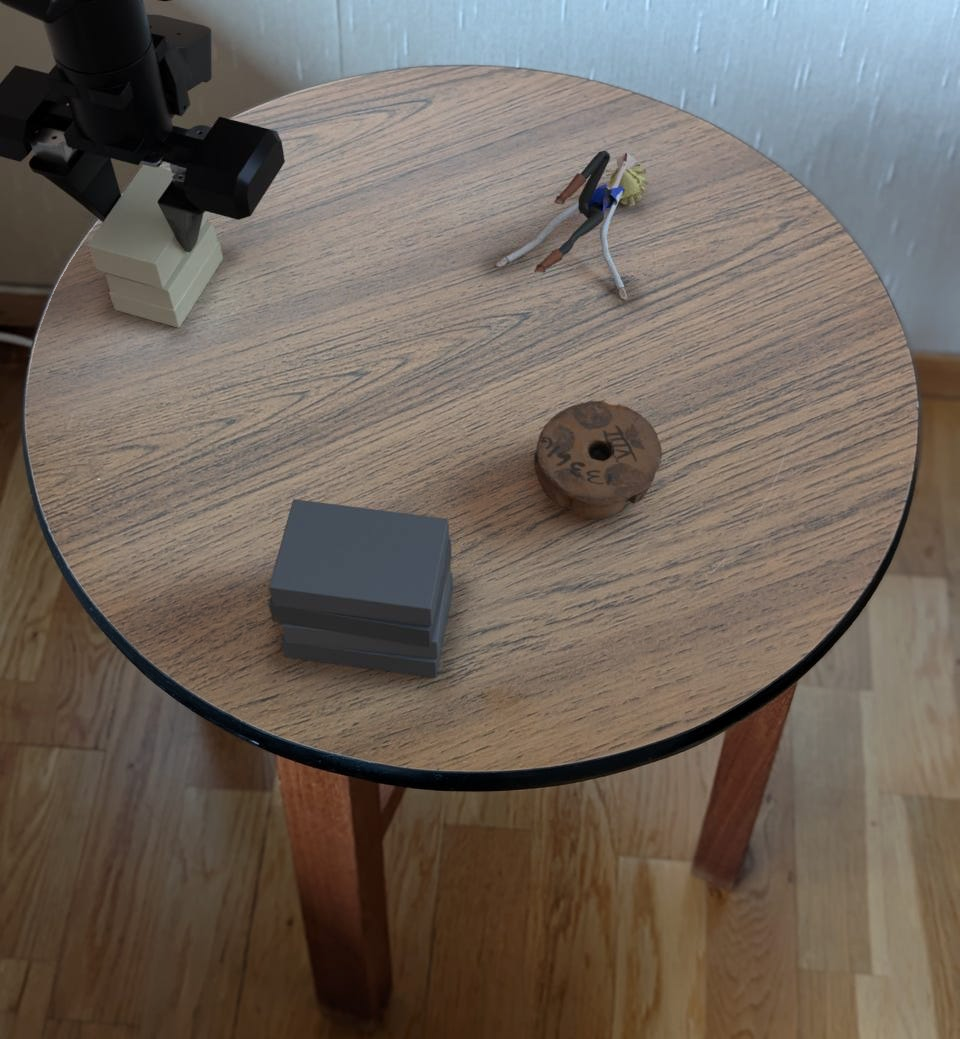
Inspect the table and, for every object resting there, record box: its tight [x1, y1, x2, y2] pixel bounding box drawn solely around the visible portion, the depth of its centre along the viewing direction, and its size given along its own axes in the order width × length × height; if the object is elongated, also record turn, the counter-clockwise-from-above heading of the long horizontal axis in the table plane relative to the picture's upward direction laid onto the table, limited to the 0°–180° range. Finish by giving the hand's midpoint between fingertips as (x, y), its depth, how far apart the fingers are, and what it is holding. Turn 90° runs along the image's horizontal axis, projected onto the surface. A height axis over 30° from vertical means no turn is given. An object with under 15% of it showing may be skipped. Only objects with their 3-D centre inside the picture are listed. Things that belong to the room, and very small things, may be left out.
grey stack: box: [268, 498, 454, 679], centre depth 76 cm, size 9×6×8 cm
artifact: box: [533, 400, 663, 521], centre depth 82 cm, size 8×8×5 cm
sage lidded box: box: [104, 220, 224, 329], centre depth 92 cm, size 7×5×4 cm
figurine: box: [495, 150, 673, 301], centre depth 93 cm, size 10×9×20 cm
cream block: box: [86, 164, 212, 289], centre depth 89 cm, size 8×5×2 cm, turn 160°
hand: (156, 237), depth 90 cm, fingers closed on cream block, 5 cm apart
